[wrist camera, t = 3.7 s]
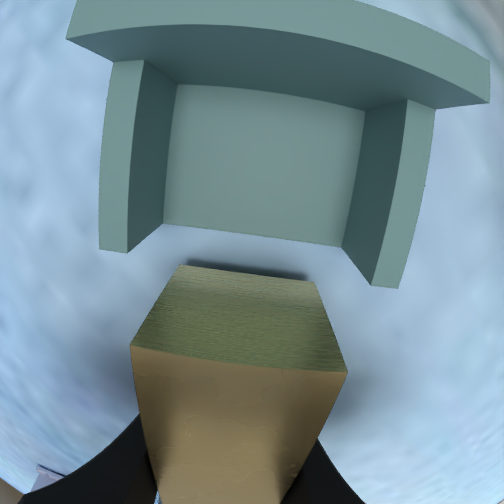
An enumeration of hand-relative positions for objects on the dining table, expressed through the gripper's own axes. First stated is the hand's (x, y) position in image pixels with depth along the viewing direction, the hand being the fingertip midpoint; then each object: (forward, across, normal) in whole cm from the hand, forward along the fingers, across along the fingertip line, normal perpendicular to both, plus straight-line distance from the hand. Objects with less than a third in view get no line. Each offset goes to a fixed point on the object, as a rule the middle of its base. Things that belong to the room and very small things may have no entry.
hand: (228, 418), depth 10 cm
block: (+1, 0, +2) cm, 2 cm away
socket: (+1, 0, -9) cm, 9 cm away
